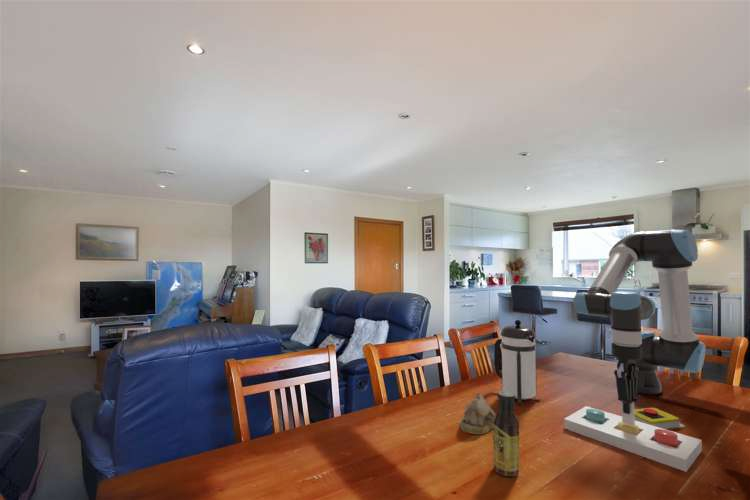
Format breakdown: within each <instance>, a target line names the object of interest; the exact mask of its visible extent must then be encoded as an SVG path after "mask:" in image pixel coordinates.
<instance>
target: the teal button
mask: <svg viewBox="0 0 750 500" xmlns="http://www.w3.org/2000/svg"><path fill="white" fill-rule="evenodd" d="M600 410H601V409H598V410H597V408H595V409H587V410H586V419H587V420H590V421H593V422H596V423H599V424H603V423H605V413H604V412H602V411H603V410H601V411H600Z"/></svg>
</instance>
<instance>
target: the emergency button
mask: <svg viewBox="0 0 750 500" xmlns="http://www.w3.org/2000/svg"><path fill="white" fill-rule="evenodd" d="M634 417H635V421H639V422H642V423H646V424H649V425H652V426H656V427H659V428H662V429H666V430H671V429H677V428H678V429H680V428H685V427H686V425H685V424H683V423H680V419H679V417H677V416H675V415H674V414H670V413H668V412H666V411H663V410H660V409H659V408H656V407H645V408H634Z"/></svg>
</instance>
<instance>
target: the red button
mask: <svg viewBox="0 0 750 500" xmlns="http://www.w3.org/2000/svg"><path fill="white" fill-rule="evenodd" d="M668 430H669V429H666V430H663V429H656V430H655V431H654V432H655V442H658V443H661V444H664V445H667V446H670V447H673V448H677V447H678V437H677V434H675V433H673V432H674V431H673V432H671V431H672V430H669V431H668Z"/></svg>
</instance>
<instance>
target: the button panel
mask: <svg viewBox="0 0 750 500" xmlns="http://www.w3.org/2000/svg"><path fill="white" fill-rule="evenodd" d="M587 409H597V408H593V407H591V406H588V405H585V406H583V407H582V408H581V409H579V410H577V411H575V412H573V413H571V414H570V415H568V416H566V417H564V418H563V428H564V430H567V429H568V431H570V432H574V433H577V434H578V435H579V434H580V435H582V436H584V437H588V438H590V439H593V440H595V441H598V442H601V443H605V444H608V445H610V446H613V447H616V448H619V449H621V450H624V451H626V452H630V453H632V454H635V455H638V456H640V457H644V458H646V459H649V460H651V461H654V462H657V463H660V464H663V465H665V466H668V467H672V468H675V469H676V470H680V471H683V472H686V473H687V472H688V470H689V469H690V468H691V467H692V465H693V464H694V463H695V461H696V459H697V458H698V457H699V456H700V454H701V453H702V451H703V444H702V443H703V442H702V439H699V438H697V437H692V436H689V435H685V434H683V433H678V432H676V431H673V430H670V429H663V430H668V431H671V432H673V433H675V434H677V437H678V447H677V448H673V447H670V446H667V445H664V444H661V443H658V442H655V432H654V431H655V430H656V429H662V428H659V427H656V426H652V425H649V424H646V423H642V422H639V421H635V425H637V426H638V427H639V434H638V435H637V436H636V435H633V434H630V433H627V432H624V431H621V430H618V423H619V422H622V415H618V414H614V413H611V412H608V411H604V410H601V409H597V410H600V411H602V412H604V413H605V423H603V424H599V423H596V422H593V421H590V420H587V419H586V410H587Z"/></svg>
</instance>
